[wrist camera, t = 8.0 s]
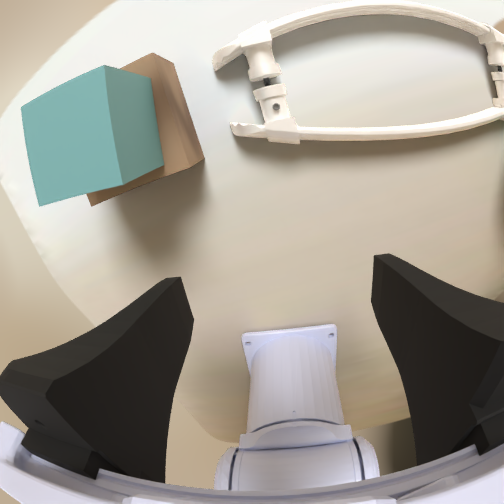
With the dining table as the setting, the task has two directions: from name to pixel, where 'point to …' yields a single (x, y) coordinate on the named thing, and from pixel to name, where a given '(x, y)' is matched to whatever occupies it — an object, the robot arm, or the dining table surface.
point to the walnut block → (162, 125)
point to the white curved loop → (287, 131)
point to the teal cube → (91, 134)
